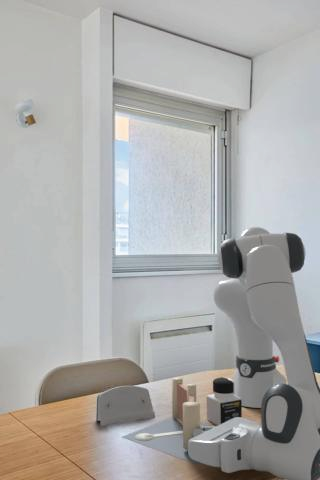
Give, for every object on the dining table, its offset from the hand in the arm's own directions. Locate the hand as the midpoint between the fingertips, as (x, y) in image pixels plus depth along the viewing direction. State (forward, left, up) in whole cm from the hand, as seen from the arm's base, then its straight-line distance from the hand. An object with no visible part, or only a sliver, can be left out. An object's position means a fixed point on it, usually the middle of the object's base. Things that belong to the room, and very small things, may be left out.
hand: (196, 430), depth 111 cm
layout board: (-7, -9, -6) cm, 13 cm away
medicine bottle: (-23, -8, -6) cm, 25 cm away
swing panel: (-4, -5, -4) cm, 8 cm away
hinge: (-7, -32, -6) cm, 33 cm away
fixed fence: (-14, -15, -5) cm, 21 cm away
